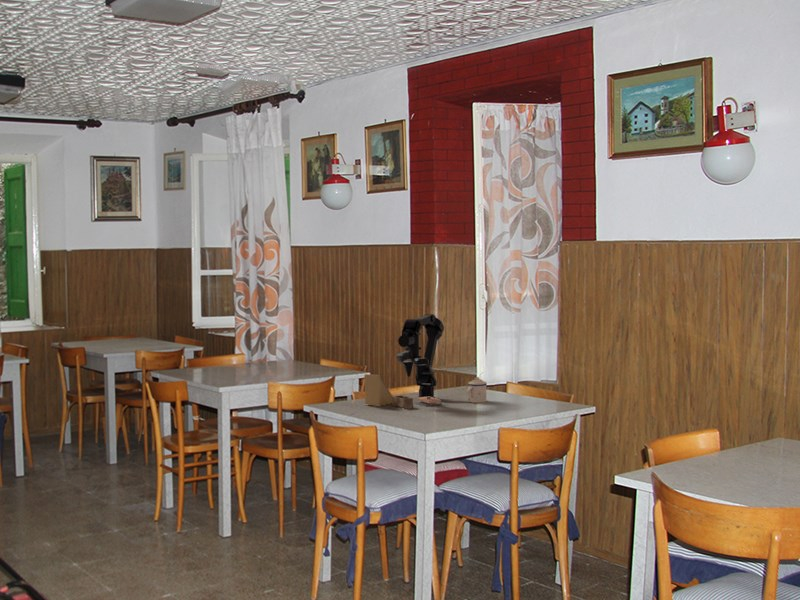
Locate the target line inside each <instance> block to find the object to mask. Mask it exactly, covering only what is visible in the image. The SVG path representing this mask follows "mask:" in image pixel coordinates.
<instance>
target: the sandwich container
mask: <svg viewBox="0 0 800 600" xmlns="http://www.w3.org/2000/svg"><path fill="white" fill-rule="evenodd" d="M363 377H364V405H365V404H368V405H376V406H380V407H382V406H381V405H384V406H387V405H386V404H388V405H391V403H392V404H393V394H392V393H391V392H390V390H389V388H388V387H387V386H386V384H385V383H384V381H383V379H382V378H381V376H380V375H379V374H372V373H371V374H367V373H365V374H364V376H363ZM376 406H375V407H376Z"/></svg>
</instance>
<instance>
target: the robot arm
mask: <svg viewBox="0 0 800 600" xmlns="http://www.w3.org/2000/svg"><path fill="white" fill-rule="evenodd" d="M423 327H424V328H425V333H426V335H427V342H426V347H425V351H424V356H423V357H422V355H420V350H422V347H421V346H420V335H421V332H420V331H421V330H422V329H423ZM444 329H445V326H444V324H443V322H442V320H441V319H439V318H437V316H436V315H435V314H434V313H431V314H430V313H426V314H424V315H421V316H420V317H419V316H418V317H416V318H407V319H406V320H405V321H404V323H403V327H402V330H401V335H400V336H399V337H398V340H397V342H398V345H399V346H400V347H401V348H404V351H401V352H400V353H397V354H396V355H395V356H396V359H397V362H400V364H402V365H403V367H404V370H405V373H406V375H407V377H408V378H409V377H411V374H412V371H413V370H412V369H413V367H414V368H415V370H416V372H415V373H416V374H415V382H416V383H415V384H416V386H418V387H419V389H418V396H417V398H419V397H428V396H429V397H433V398H436V397H435V394H434V393H435V392H434V391H435V389H434V388H435V387H436V386H437V383H438V381H437V379H436V377H435V372H434V369H433V364H434V361H435V360H434V359H435V355H436V349H437V345H438V344H437V343H438V341H439V339H440V338H441V337H442V336H443V332H444Z"/></svg>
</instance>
